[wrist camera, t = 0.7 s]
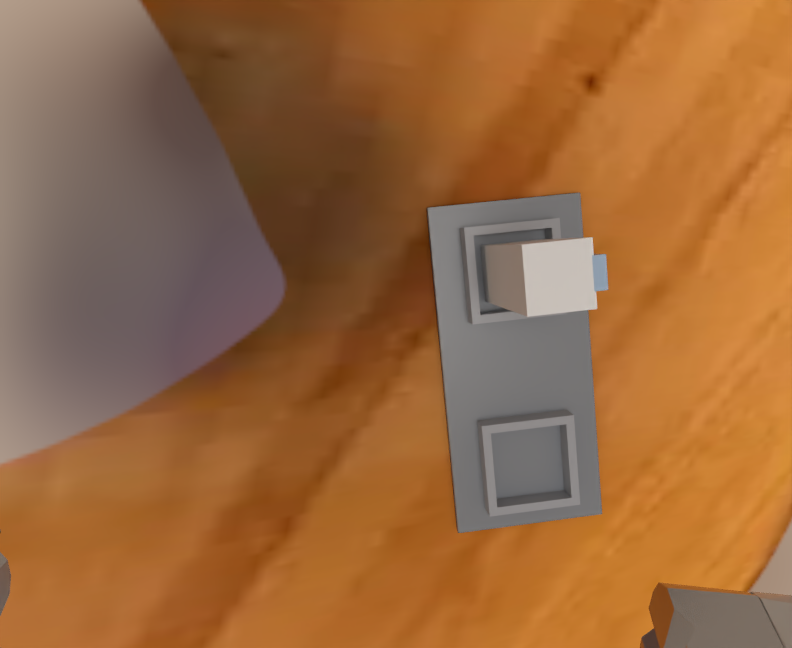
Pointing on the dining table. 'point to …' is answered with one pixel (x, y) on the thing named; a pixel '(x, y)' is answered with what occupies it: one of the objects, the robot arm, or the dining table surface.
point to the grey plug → (543, 275)
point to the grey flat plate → (512, 375)
